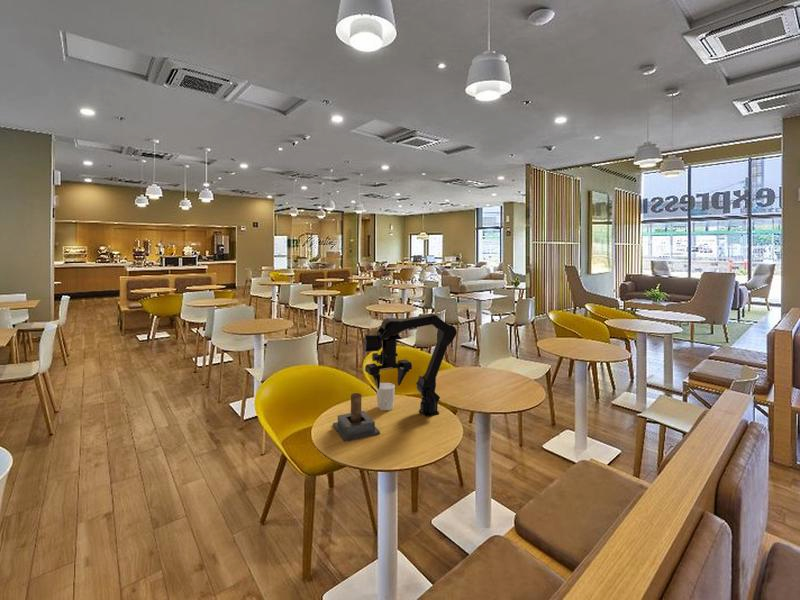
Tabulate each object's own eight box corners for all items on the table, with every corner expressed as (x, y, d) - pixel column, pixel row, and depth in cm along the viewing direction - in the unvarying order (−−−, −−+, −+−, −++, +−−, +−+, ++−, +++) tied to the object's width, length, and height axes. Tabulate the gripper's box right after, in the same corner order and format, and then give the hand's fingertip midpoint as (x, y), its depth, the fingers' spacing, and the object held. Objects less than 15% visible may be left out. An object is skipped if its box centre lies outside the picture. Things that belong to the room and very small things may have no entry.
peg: (361, 425, 160) (362, 393, 158) (360, 429, 156) (360, 397, 154) (351, 424, 160) (351, 393, 158) (349, 429, 156) (350, 397, 154)
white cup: (386, 413, 174) (387, 390, 172) (372, 408, 179) (372, 386, 177) (398, 407, 180) (398, 385, 179) (384, 402, 185) (384, 381, 183)
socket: (365, 419, 168) (366, 408, 167) (379, 434, 155) (380, 422, 155) (332, 425, 162) (332, 414, 161) (344, 441, 149) (344, 430, 148)
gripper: (400, 342, 177) (399, 377, 179) (360, 347, 168) (359, 383, 171) (413, 349, 167) (412, 386, 170) (370, 354, 159) (370, 393, 161)
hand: (388, 387), depth 168 cm, fingers open, 9 cm apart
